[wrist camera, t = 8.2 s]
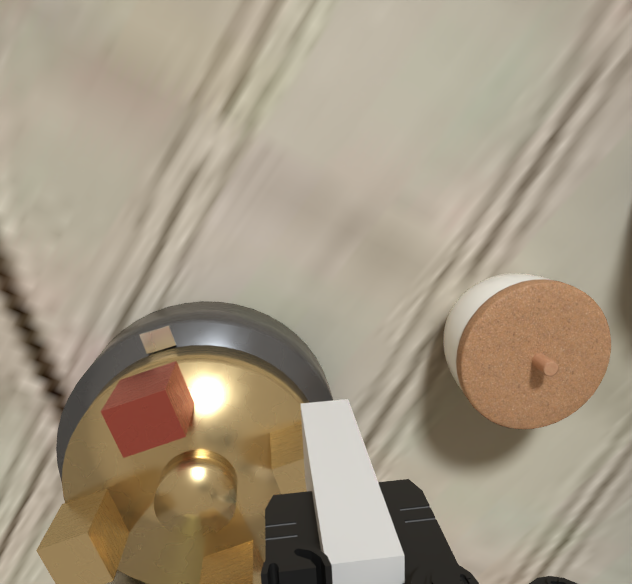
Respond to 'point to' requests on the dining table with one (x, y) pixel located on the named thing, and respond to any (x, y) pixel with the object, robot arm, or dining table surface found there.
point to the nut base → (195, 329)
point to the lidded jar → (526, 349)
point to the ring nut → (178, 471)
